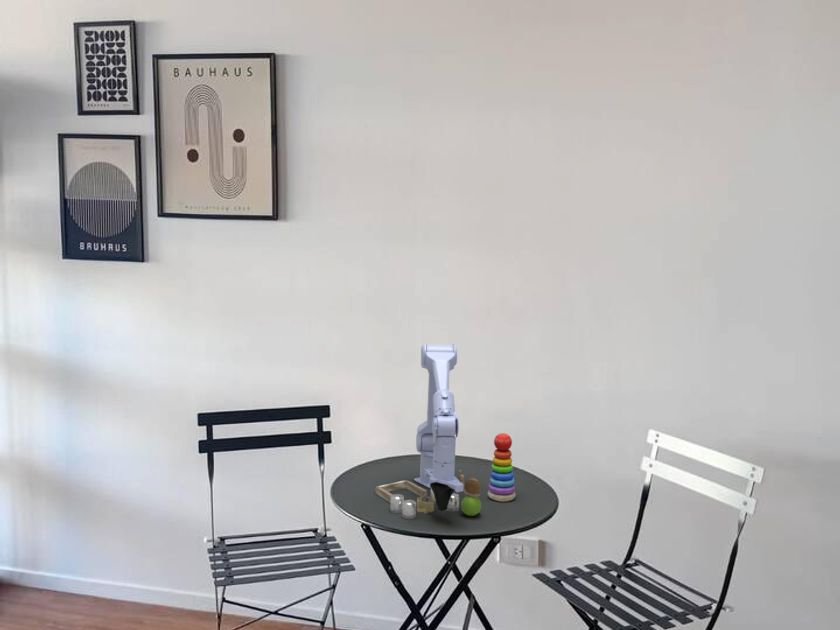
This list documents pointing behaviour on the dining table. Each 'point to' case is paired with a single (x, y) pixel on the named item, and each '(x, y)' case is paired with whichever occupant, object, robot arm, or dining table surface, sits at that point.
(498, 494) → the stacking toy
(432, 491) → the cylinder
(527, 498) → the dining table surface
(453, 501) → the cylinder
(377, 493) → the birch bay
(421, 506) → the brass nut
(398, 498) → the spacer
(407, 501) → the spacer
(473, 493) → the snail figurine
